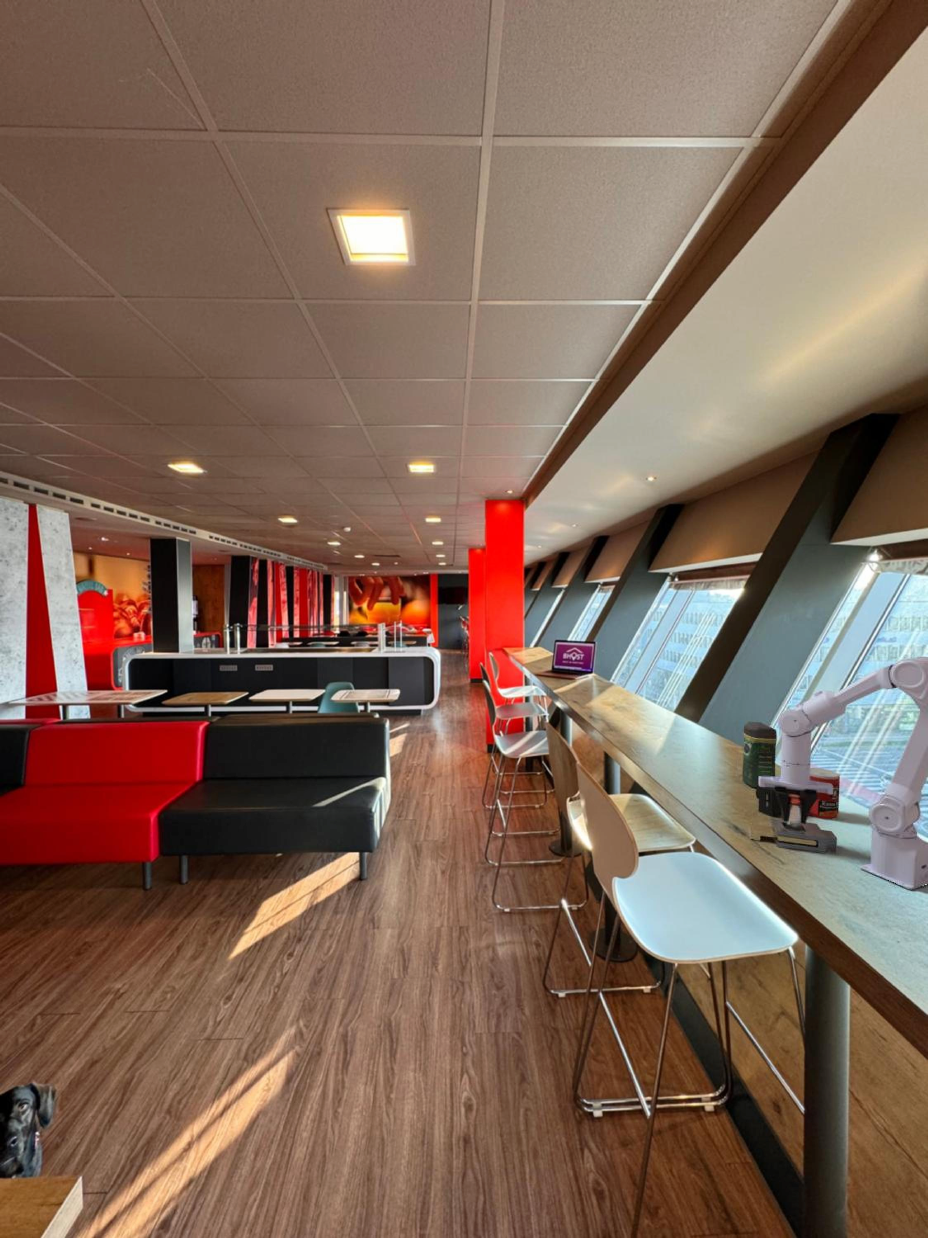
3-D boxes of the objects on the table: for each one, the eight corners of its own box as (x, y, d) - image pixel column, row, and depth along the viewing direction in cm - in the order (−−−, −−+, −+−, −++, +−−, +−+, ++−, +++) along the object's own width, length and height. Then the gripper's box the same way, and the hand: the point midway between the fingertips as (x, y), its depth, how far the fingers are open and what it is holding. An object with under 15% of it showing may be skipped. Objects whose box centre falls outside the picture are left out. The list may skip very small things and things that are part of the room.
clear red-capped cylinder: (804, 837, 127) (805, 798, 127) (794, 839, 126) (796, 800, 126) (792, 832, 130) (793, 793, 130) (782, 834, 129) (784, 795, 128)
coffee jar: (779, 790, 164) (781, 727, 164) (751, 789, 165) (753, 726, 164) (765, 780, 174) (767, 720, 173) (738, 779, 175) (740, 719, 174)
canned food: (822, 821, 141) (823, 777, 141) (795, 809, 149) (797, 768, 149) (846, 818, 143) (847, 775, 143) (818, 807, 151) (820, 766, 151)
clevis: (828, 840, 130) (829, 825, 129) (839, 855, 122) (839, 839, 122) (746, 830, 135) (747, 815, 135) (751, 843, 127) (752, 827, 127)
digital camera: (783, 805, 152) (784, 780, 152) (801, 812, 147) (802, 786, 147) (754, 810, 149) (755, 783, 148) (772, 817, 143) (772, 790, 143)
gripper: (827, 760, 129) (825, 819, 130) (757, 754, 134) (755, 810, 134) (836, 769, 123) (834, 830, 123) (762, 762, 127) (760, 821, 128)
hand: (793, 821), depth 128 cm, fingers closed on clear red-capped cylinder, 3 cm apart
